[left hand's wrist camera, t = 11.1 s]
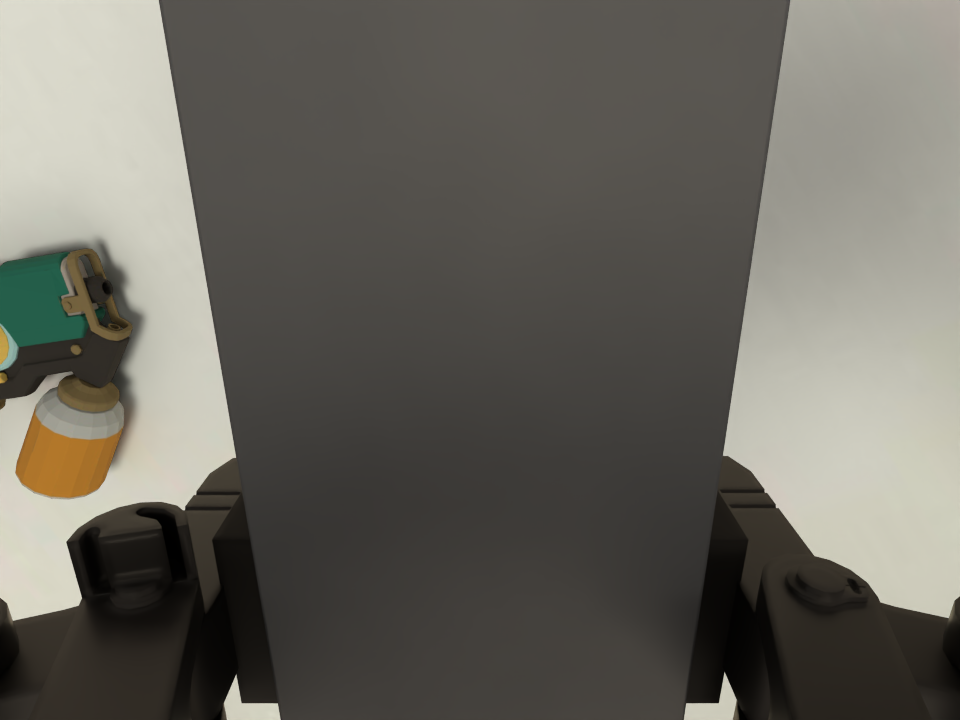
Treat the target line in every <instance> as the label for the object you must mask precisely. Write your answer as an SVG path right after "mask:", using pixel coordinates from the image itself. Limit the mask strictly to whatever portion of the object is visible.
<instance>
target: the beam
mask: <svg viewBox="0 0 960 720" xmlns="http://www.w3.org/2000/svg"><path fill="white" fill-rule="evenodd" d="M159 4H160V10H161V16H162V22H163V27H164V33H165V39H166V45H167V51H168V57H169V63H170V69H171V75H172V81H173V86H174V92H175V98H176V104H177V110H178V116H179V122H180V128H181V134H182V140H183V145H184V151H185V157H186V163H187V169H188V175H189V181H190V187H191V193H192V199H193V204H194V210H195V216H196V222H197V228H198V234H199V240H200V246H201V252H202V258H203V263H204V269H205V275H206V281H207V287H208V293H209V299H210V305H211V311H212V317H213V322H214V328H215V334H216V340H217V346H218V352H219V358H220V364H221V370H222V376H223V381H224V387H225V393H226V399H227V405H228V411H229V417H230V423H231V429H232V435H233V440H234V446H235V452H236V458H237V464H238V470H239V476H240V482H241V488H242V494H243V499H244V505H245V511H246V517H247V523H248V529H249V535H250V541H251V547H252V553H253V558H254V564H255V570H256V576H257V582H258V588H259V594H260V600H261V606H262V612H263V617H264V623H265V629H266V635H267V641H268V647H269V653H270V659H271V665H272V671H273V676H274V682H275V688H276V694H277V700H278V706H279V712H280V718H281V720H684V714H685V707H686V700H687V693H688V687H689V680H690V673H691V666H692V660H693V653H694V646H695V639H696V633H697V626H698V619H699V612H700V606H701V599H702V592H703V585H704V579H705V572H706V565H707V558H708V552H709V545H710V538H711V531H712V525H713V518H714V511H715V504H716V498H717V491H718V484H719V477H720V471H721V464H722V457H723V450H724V444H725V437H726V430H727V423H728V417H729V410H730V403H731V396H732V390H733V383H734V376H735V369H736V363H737V356H738V349H739V342H740V336H741V329H742V322H743V315H744V309H745V302H746V295H747V288H748V282H749V275H750V268H751V261H752V255H753V248H754V241H755V234H756V228H757V221H758V214H759V207H760V201H761V194H762V187H763V180H764V174H765V167H766V160H767V153H768V147H769V140H770V133H771V126H772V120H773V113H774V106H775V99H776V93H777V86H778V79H779V72H780V66H781V59H782V52H783V45H784V39H785V32H786V25H787V18H788V11H789V5H790V0H159Z"/></svg>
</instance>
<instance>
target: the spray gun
mask: <svg viewBox="0 0 960 720" xmlns="http://www.w3.org/2000/svg"><path fill="white" fill-rule="evenodd" d="M81 255H85V256H87V257H88V259H89V260H90V262H91V265H92V268H93V271H94V274H95V276H93V277H88V276H87V273H86V270H85V267H84V264H83V262H82V261H81V260H80V259H79V257H80V256H81ZM112 292H113V288H112V285H111V283H110V282H109V281H108V280H107V279H106V276H105V273H104V270H103V267H102V265H101V262H100V259H99V257H98V255H97V253H96V252H95V251H93V250H92V249H81V250H76V251H72V252H71V253H70V252H62V253H56V254H49V255H43V256H37V257H31V258H25V259H19V260H13V261H7V262H5V263H3V264H2V265H1V266H0V409H2V408H3V407H4V406H5V402H6V399H9V398H16V397H23V396H27V395H29V394H32V393H33V392H35V391H36V389H37V388H38V387H39V385H40V384H41V383H42V381H43V380H44V378H45V377H46V376H47V375H51V374H57V373H63V372H69V371H72V372H73V373H74V374H73V375H70V376H66V377H64V378H63V379H62V380H61V381H60V383H59V385H58V387H56V388H52V389H50V390H49V391H48V392H47V393H46V394H45V395H43V397H42V398H41V399H40V401H39V402H38V403H37V405H36V407H35V410H34V413H33V416H32V419H31V422H30V425H29V428H28V431H27V434H26V437H25V440H24V443H23V446H22V449H21V452H20V455H19V458H18V461H17V465H16V472H15V473H16V475H17V477H18V479H19V481H20V482H21V484H22V485H23V486H24V487H26V488H27V489H29V490H30V491H32V492H33V493H36V494H39V495H42V496H45V497H49V498H53V499H74V498H79V497H85V496H87V495H89V494H91V493H93V492H95V491H97V490H98V489H99V487H100V486H101V485H102V483H103V482H104V481H105V478H106V475H107V472H108V470H109V467H110V464H111V461H112V458H113V455H114V453H115V450H116V447H117V444H118V441H119V438H120V435H121V433H122V430H123V427H124V408H123V406H122V404H121V403H120V402H119V401H118V400H119V397H120V396H119V390H118V389H117V387H116V386H115V385H114V384H113V383H111V382H110V381H111V380H112V379H113V376H114V374H115V372H116V369H117V367H118V365H119V362H120V360H121V357H122V355H123V353H124V350H125V348H126V346H127V343H128V341H129V335H130V334H131V331H132V328H133V326H132V324H131V323H130V322H128V321H127V320H125V319H123V318H121V317H119V314H118V311H117V308H116V305H115V302H114V299H113V297H112ZM104 303H105V305H106V307H107V310H108V313H109V316H110V319H111V321H112V322H113V323H115V324H108V326H105V325H103V324H102V323H101V321H102V319H103V317H104V316H105V310H104V308H102V307H98V305H97V304H104ZM116 324H117V325H116ZM118 325H119V326H118ZM120 326H121V327H122V328H123V329H122V330H121V327H120Z"/></svg>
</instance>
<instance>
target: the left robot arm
mask: <svg viewBox="0 0 960 720" xmlns="http://www.w3.org/2000/svg"><path fill="white" fill-rule="evenodd" d="M67 546H68V549H69V553H70V557H71V560H72V564H73V567H74V571H75V574H76V578H77V581H78V585H79V588H80V592H81V595H82V600H81V602H80V604H79V606H76V607H73V608H69V609H66V610H61V611H57V612H52V613H48V614H43V615H38V616H34V617H29V618H24V619H20V620H15V621H13V620H12V617H11V614H10V611H9V608H8V605H7V603H6V602H4V601H3V600H2V599H1V598H0V720H227V718H226V712H225V707H224V701H225V699H226V696H227V694H228V692H229V690H230V687H231V685H232V683H233V680H234V678H235V676H236V674H237V680H238V685H239V691H240V696H241V701H242V703H278V700H277V694H276V688H275V682H274V676H273V671H272V665H271V659H270V653H269V647H268V641H267V635H266V629H265V623H264V617H263V612H262V606H261V600H260V594H259V588H258V582H257V576H256V570H255V564H254V558H253V553H252V547H251V541H250V535H249V529H248V523H247V517H246V511H245V505H244V499H243V494H242V488H241V482H240V476H239V470H238V464H237V458H233V459H231V460H230V461H228V462H227V463H225V464H224V465H222V466H221V467H219V468H218V469H216V470H215V471H213V472H212V473H210V474H209V476H208V477H207V478H206V480H205V481H204V482H203V484H202V485H201V486H200V488H199V489H198V490H197V494H196V495H194V496H193V497H192V498H191V500H190V501H189V502H188V504H187V505H186V506H185V511H183V510H182V509H180V508H179V507H178V506H176V505H172V504H168V503H163V502H145V503H137V504H132V505H128V506H123V507H119V508H116V509H114V510H111V511H109V512H106V513H104V514H101V515H99V516H96V517H95V518H93V519H92V520H90V521H89V522H87V523H86V524H84V525H83V526H81V527H80V528H78V529H77V530H76V531H75V532H74V534H73V535H72V536H71V537H70V538H69V539H68V541H67ZM724 671H725V674H726V676H727V678H728V680H729V683H730V685H731V687H732V690H733V692H734V694H735V697H736V699H737V702H736V707H735V712H734V717H733V720H960V597H959V598H957V599H956V600H955V601H954V604H953V607H952V610H951V613H950V616H949V618H944V617H940V616H935V615H931V614H926V613H921V612H917V611H912V610H907V609H903V608H898V607H894V606H891V605H887V604H884V603H880V601H879V599H878V597H877V595H876V594H875V593H874V591H873V590H872V589H871V587H870V586H869V584H868V583H867V582H866V581H864V580H863V579H862V578H860V577H859V576H858V575H856V574H855V573H854V572H852V571H851V570H849V569H847V568H845V567H843V566H841V565H839V564H837V563H835V562H832V561H830V560H827V559H823V558H819V557H815V556H814V555H813V554H812V552H811V551H810V550H809V548H808V547H807V546H806V544H805V543H804V542H803V540H802V539H801V538H800V536H799V535H798V534H797V532H796V531H795V530H794V528H793V527H792V526H791V524H790V523H789V522H788V520H787V519H786V518H785V516H784V515H783V514H782V512H781V511H780V510H779V508H776V504H775V503H774V502H773V500H772V499H771V498H770V496H769V495H768V494H767V493H765V492H764V488H763V487H762V486H761V484H760V483H759V482H758V480H757V479H756V478H755V476H754V475H753V474H752V472H751V471H749V470H748V469H746V468H745V467H743V466H742V465H740V464H739V463H737V462H736V461H734V460H733V459H731V458H730V457H728V456H723V457H722V464H721V471H720V477H719V484H718V491H717V498H716V504H715V511H714V518H713V525H712V531H711V538H710V545H709V552H708V558H707V565H706V572H705V579H704V585H703V592H702V599H701V606H700V612H699V619H698V626H697V633H696V639H695V646H694V653H693V660H692V666H691V673H690V680H689V687H688V693H687V700H686V703H719V699H720V693H721V688H722V682H723V677H724Z"/></svg>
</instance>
